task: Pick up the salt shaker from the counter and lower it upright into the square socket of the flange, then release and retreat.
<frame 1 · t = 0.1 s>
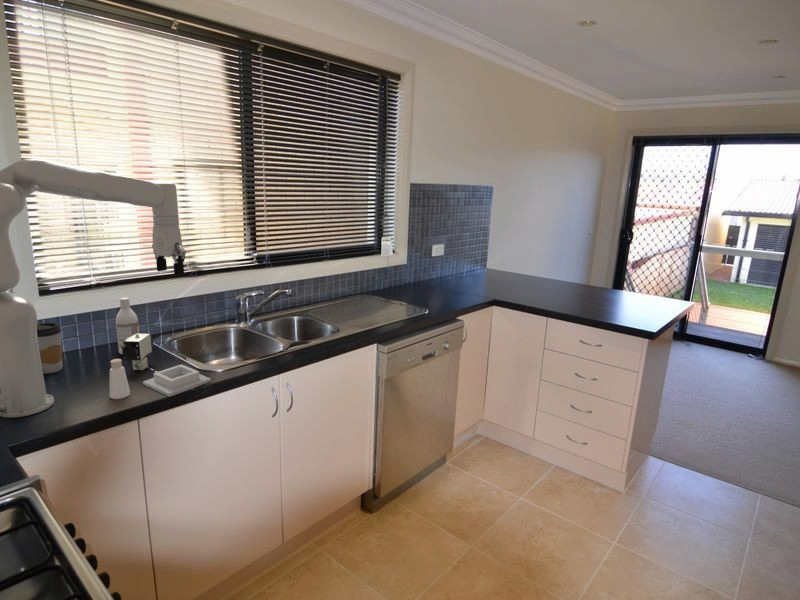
hand: (170, 272, 162), 31 cm above the worktop, fingers open, 9 cm apart
pneumatic valve: (139, 368, 162), on the worktop
flange: (177, 382, 152), on the worktop
bath foam: (130, 352, 176), on the worktop
coffee cup: (51, 370, 158), on the worktop
salt shaker: (120, 395, 143), on the worktop
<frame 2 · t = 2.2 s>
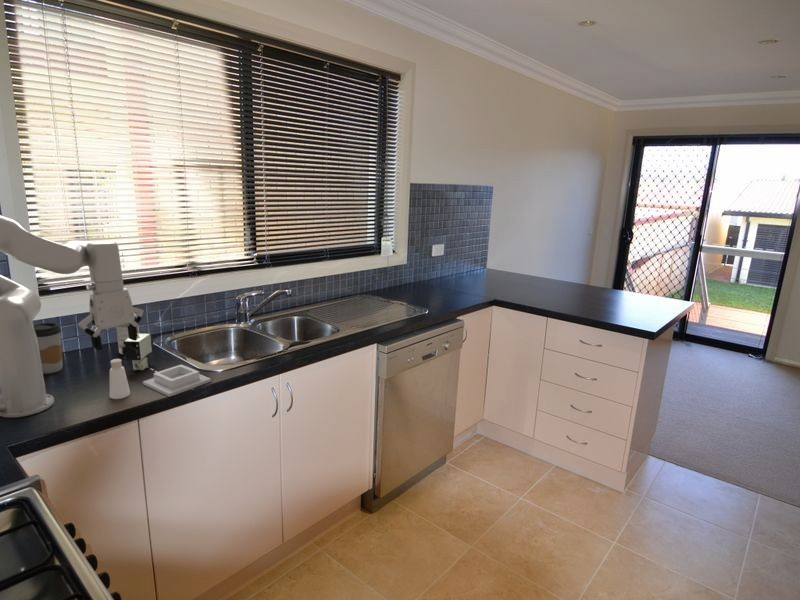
hand: (116, 344, 139), 16 cm above the worktop, fingers open, 9 cm apart
nothing on the worktop moved.
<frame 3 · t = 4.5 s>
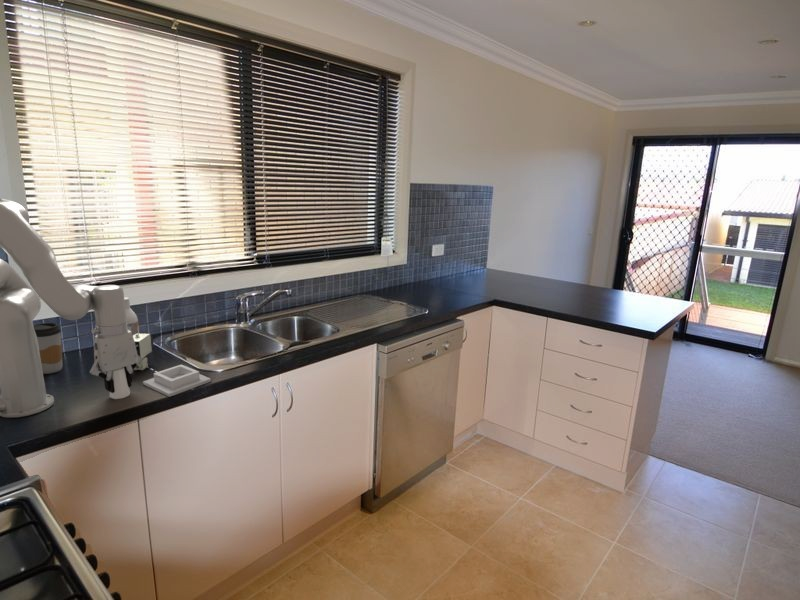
hand: (119, 387, 142), 2 cm above the worktop, fingers closed on salt shaker, 4 cm apart
salt shaker: (120, 395, 143), on the worktop, touching gripper
everything else where it was.
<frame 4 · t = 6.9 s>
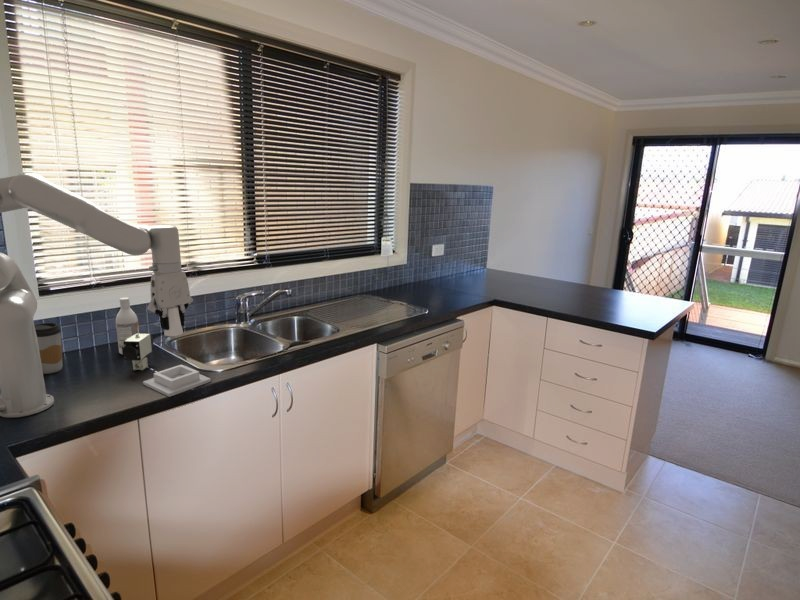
hand: (173, 326, 148), 19 cm above the worktop, fingers closed on salt shaker, 4 cm apart
salt shaker: (173, 334, 148), point 16 cm above the worktop, touching gripper
everything else where it was.
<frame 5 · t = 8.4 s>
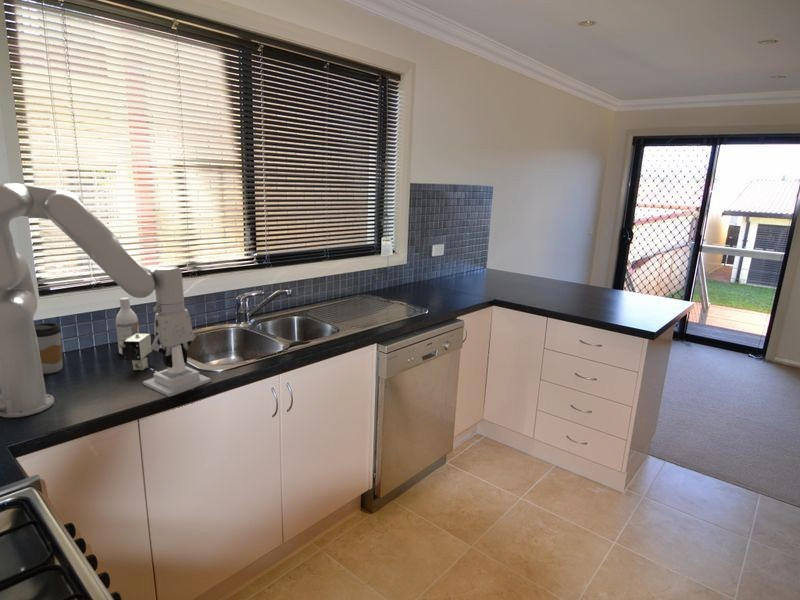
hand: (176, 363, 151), 6 cm above the worktop, fingers closed on salt shaker, 4 cm apart
salt shaker: (176, 371, 151), point 4 cm above the worktop, touching gripper
everything else where it was.
when the fingers open (5 cm above the worktop, at t = 9.4 s): salt shaker drops 1 cm, resting on flange.
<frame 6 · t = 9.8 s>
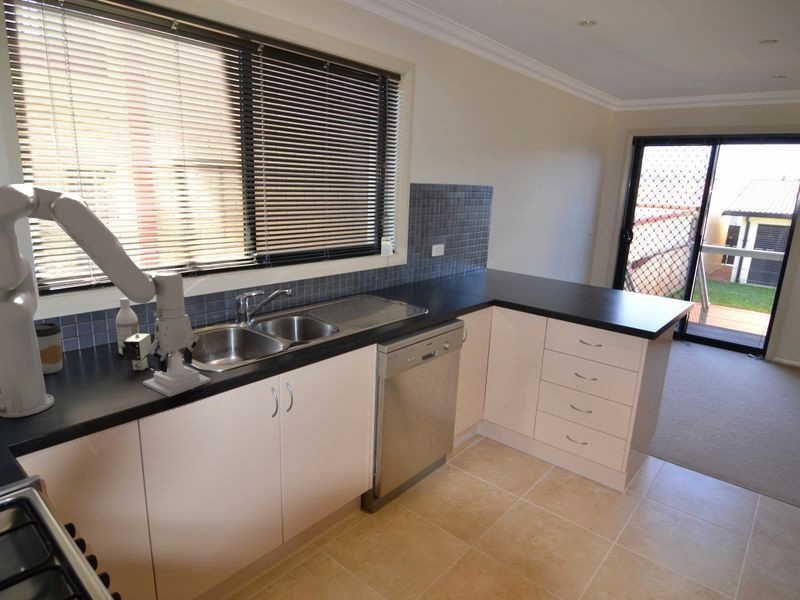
hand: (176, 366, 151), 5 cm above the worktop, fingers open, 7 cm apart
salt shaker: (176, 380, 152), point 1 cm above the worktop, touching flange
everything else where it was.
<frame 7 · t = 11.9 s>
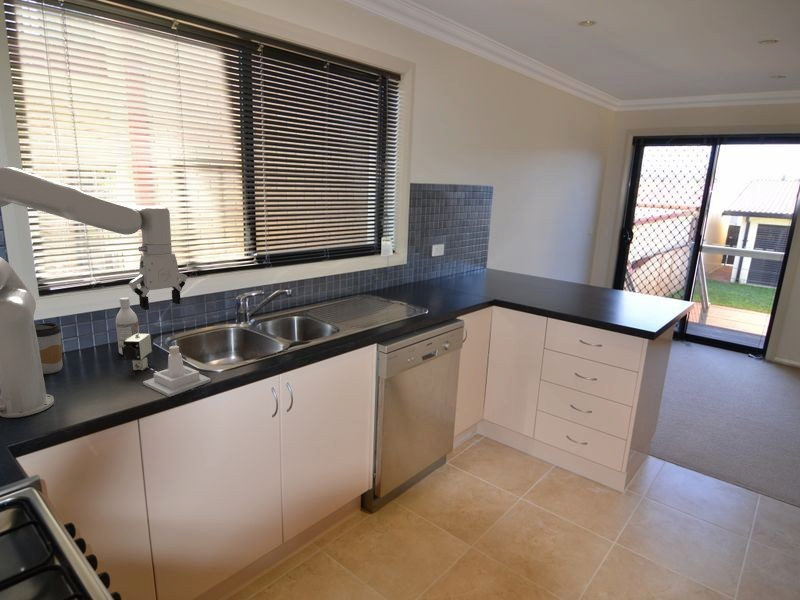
hand: (161, 306, 146), 25 cm above the worktop, fingers open, 9 cm apart
nothing on the worktop moved.
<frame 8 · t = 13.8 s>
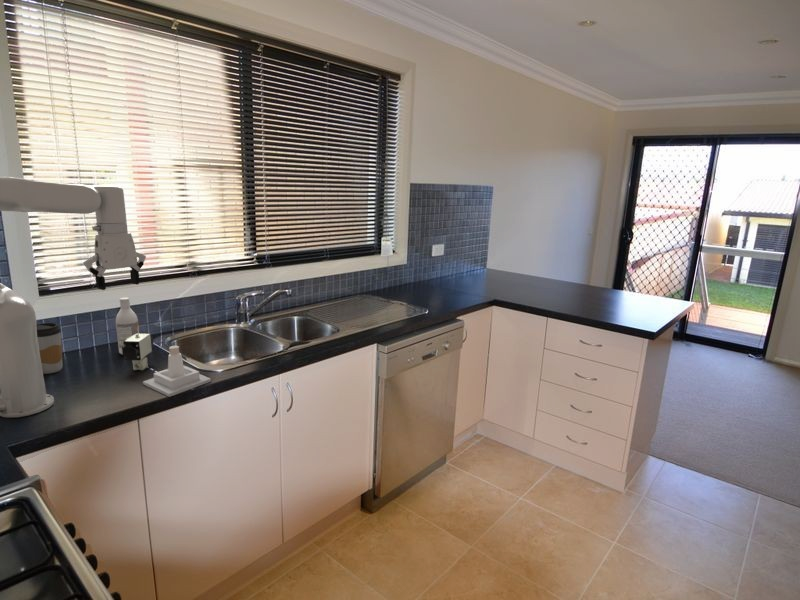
hand: (119, 286, 145), 30 cm above the worktop, fingers open, 9 cm apart
nothing on the worktop moved.
at the end: salt shaker 0.1 cm off-centre on the flange, point 0.8 cm above the flange's base; salt shaker tilted 0°; salt shaker touching flange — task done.
